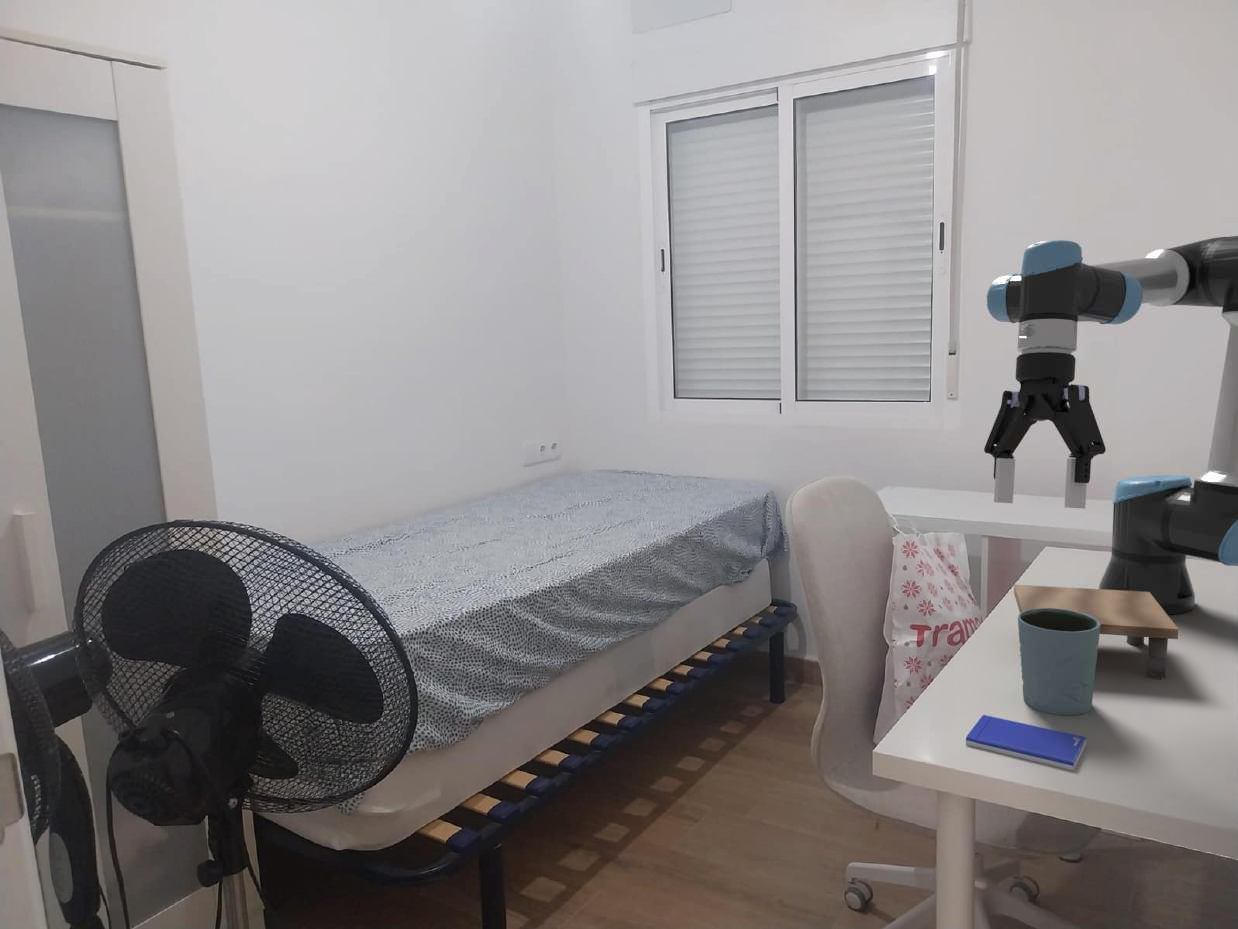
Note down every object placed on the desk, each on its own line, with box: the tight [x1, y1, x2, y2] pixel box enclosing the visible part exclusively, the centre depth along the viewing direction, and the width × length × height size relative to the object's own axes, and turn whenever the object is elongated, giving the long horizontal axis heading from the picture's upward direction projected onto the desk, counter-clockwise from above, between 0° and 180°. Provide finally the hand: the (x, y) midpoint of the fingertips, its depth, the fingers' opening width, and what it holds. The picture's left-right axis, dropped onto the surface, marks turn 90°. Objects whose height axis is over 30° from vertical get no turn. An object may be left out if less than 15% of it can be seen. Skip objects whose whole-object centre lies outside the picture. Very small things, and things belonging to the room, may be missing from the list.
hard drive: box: [965, 714, 1088, 771], centre depth 114 cm, size 2×8×12 cm
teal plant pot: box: [1017, 608, 1101, 716], centre depth 125 cm, size 10×10×12 cm
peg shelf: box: [1013, 584, 1179, 680], centre depth 141 cm, size 20×18×8 cm
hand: (1037, 505), depth 127 cm, fingers open, 13 cm apart
